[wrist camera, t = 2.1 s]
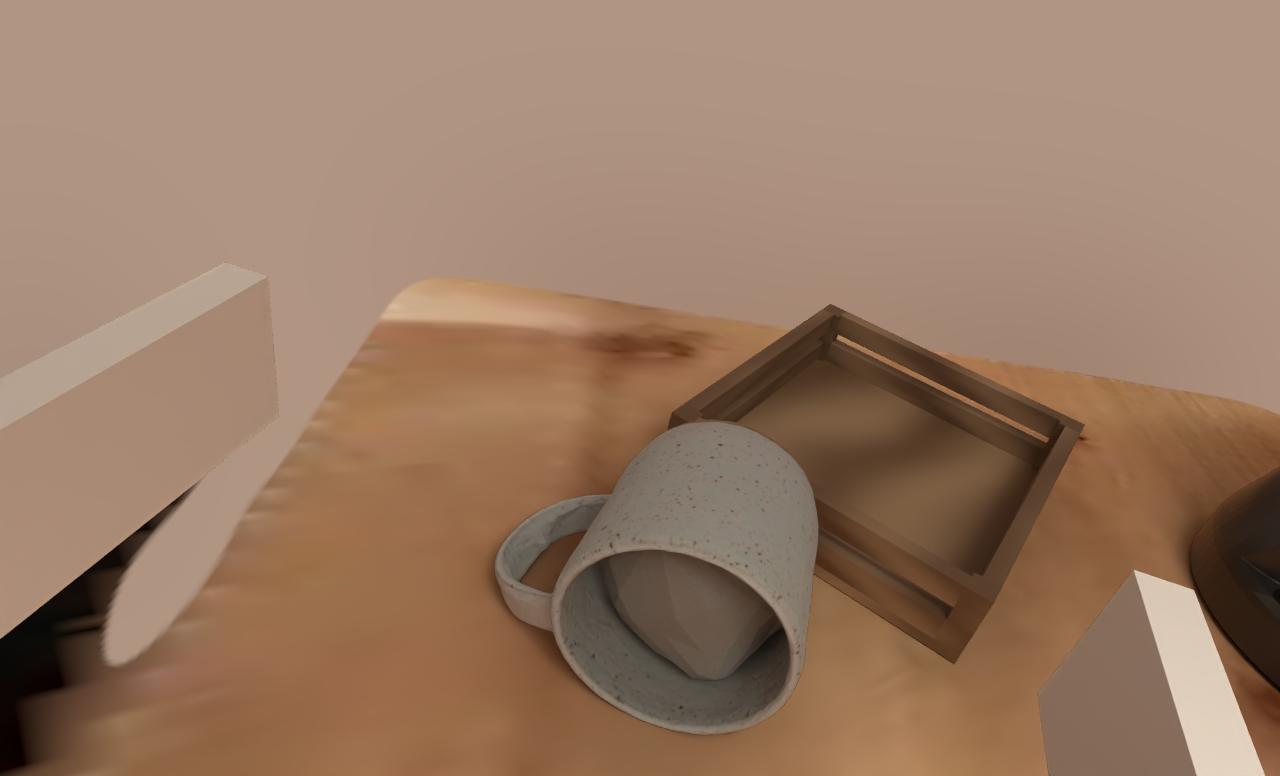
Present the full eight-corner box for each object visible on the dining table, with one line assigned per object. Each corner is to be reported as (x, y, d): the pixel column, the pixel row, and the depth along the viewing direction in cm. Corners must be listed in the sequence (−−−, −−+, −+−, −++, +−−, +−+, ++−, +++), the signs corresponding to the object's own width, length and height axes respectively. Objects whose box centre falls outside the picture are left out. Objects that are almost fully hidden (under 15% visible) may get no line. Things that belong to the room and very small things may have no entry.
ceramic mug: (793, 582, 32) (853, 429, 27) (762, 769, 25) (835, 605, 21) (542, 501, 33) (561, 344, 29) (450, 657, 27) (457, 482, 22)
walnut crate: (1051, 477, 41) (1084, 424, 39) (954, 663, 30) (993, 603, 28) (812, 355, 47) (830, 304, 45) (656, 473, 36) (672, 412, 34)
